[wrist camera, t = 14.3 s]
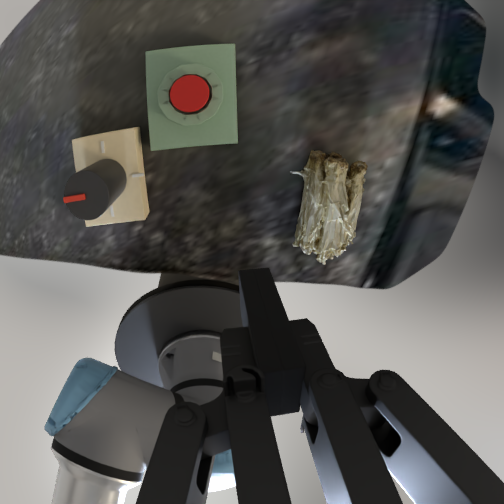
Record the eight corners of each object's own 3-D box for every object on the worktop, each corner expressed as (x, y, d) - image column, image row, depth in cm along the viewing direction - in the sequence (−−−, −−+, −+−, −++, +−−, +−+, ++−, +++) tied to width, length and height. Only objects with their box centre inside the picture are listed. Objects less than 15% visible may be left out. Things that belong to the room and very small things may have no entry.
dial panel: (154, 211, 37) (149, 219, 34) (89, 218, 36) (81, 227, 33) (144, 125, 32) (139, 127, 30) (77, 138, 31) (66, 140, 29)
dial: (124, 155, 31) (103, 167, 24) (129, 197, 33) (112, 218, 26) (85, 162, 30) (58, 175, 24) (91, 202, 32) (68, 224, 26)
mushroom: (292, 146, 36) (305, 151, 31) (360, 154, 38) (380, 161, 33) (280, 250, 42) (290, 269, 37) (343, 251, 44) (358, 268, 39)
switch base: (236, 141, 35) (239, 144, 31) (154, 148, 34) (147, 153, 30) (233, 47, 30) (236, 39, 26) (149, 54, 28) (142, 48, 25)
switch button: (210, 110, 30) (210, 110, 28) (172, 113, 29) (170, 113, 28) (208, 75, 28) (208, 73, 26) (171, 78, 27) (169, 76, 26)
